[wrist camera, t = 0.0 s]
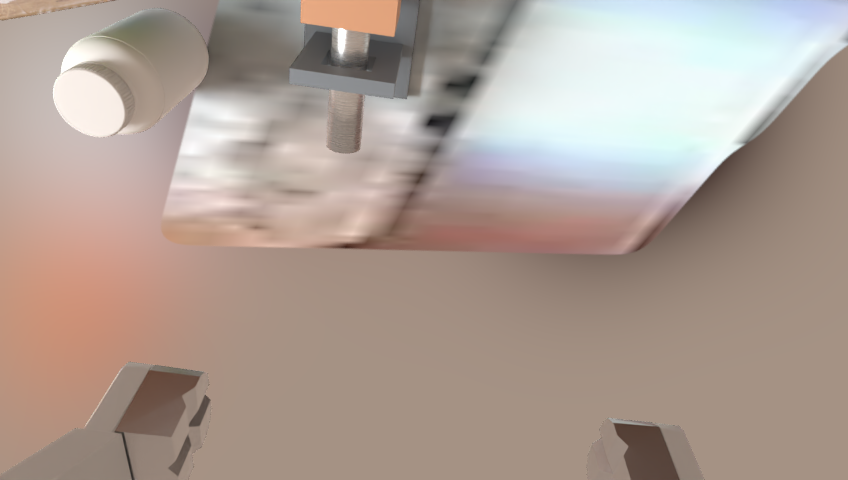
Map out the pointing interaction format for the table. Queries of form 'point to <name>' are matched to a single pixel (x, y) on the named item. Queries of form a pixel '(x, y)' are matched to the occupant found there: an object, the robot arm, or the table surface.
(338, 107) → the shaft
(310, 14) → the spacer
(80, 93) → the pill bottle
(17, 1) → the tea box
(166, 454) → the robot arm
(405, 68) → the grey post stand
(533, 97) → the table surface
